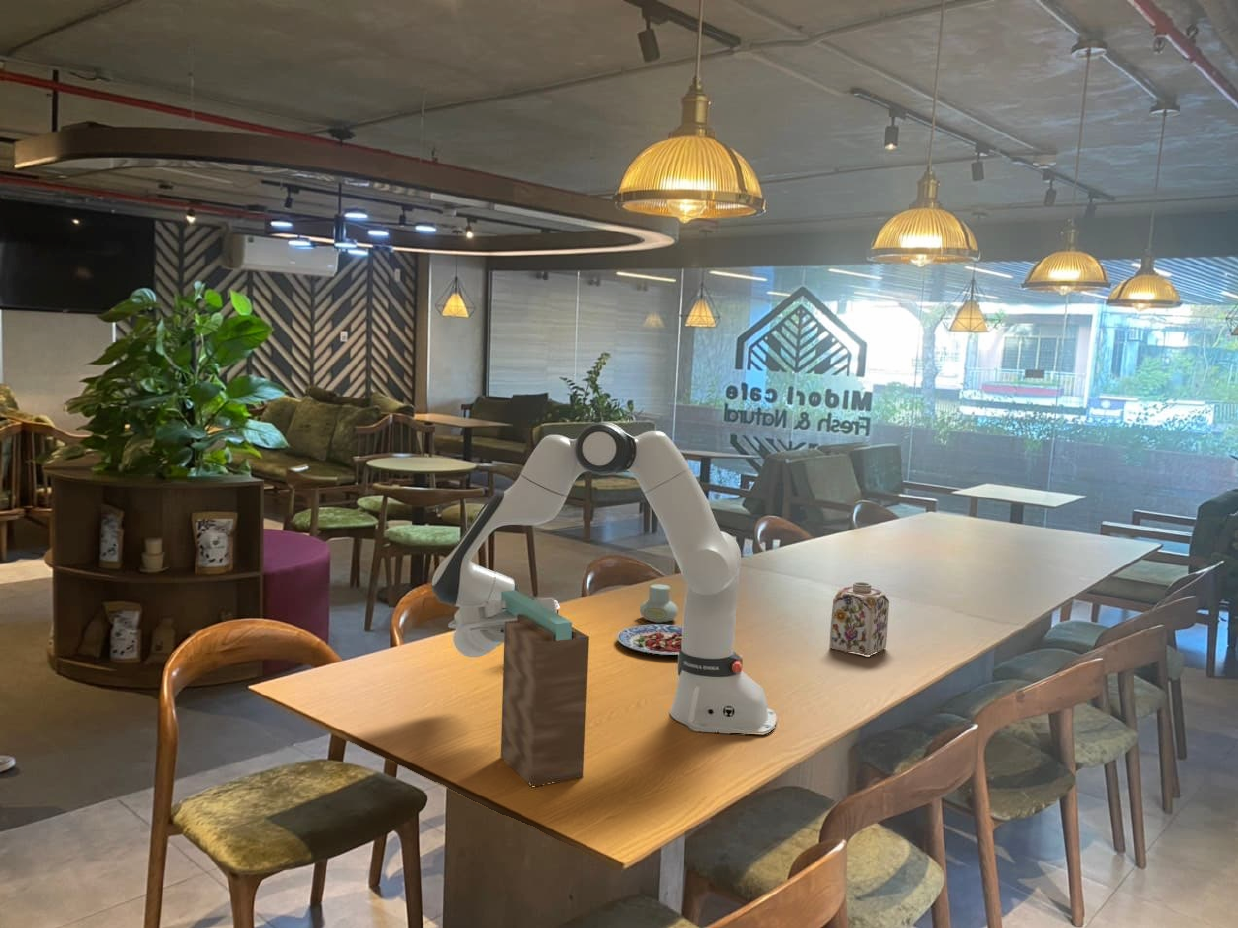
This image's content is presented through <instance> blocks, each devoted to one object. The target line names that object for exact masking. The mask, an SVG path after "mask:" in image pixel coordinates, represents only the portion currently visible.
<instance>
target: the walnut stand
mask: <svg viewBox="0 0 1238 928" xmlns="http://www.w3.org/2000/svg"><path fill="white" fill-rule="evenodd" d="M589 640H590V636H589V635H587V634H585V633H584V632H582V631H579V630H578V629H576V628H574V627H573V626H572V637H571V639H567V640H559V641H555V640H554V634H553V633H551V632H549V631H548V630H546V629H545V628H543V627H541V626H540V625H538V624H536V623H535V622H533V621H531V620H530V619H528V618H526V617H525V616H523V615H521V614H517V621H508V622H505V631H504V643H503V665H502V667H503V668H502V669H503V671H502V672H503V673H502V702H501V730H500V731H501V737H500V741H501V742H500V758H501V757H502V758H503V759H504V760H505V761H506V762H507V763H508V764H509V765H510V766H511V767H512V768H513V769H514V772H515V773H516V774H517V775H519V776H520V777H521V778H522V779H523V780H524V781H525V782H526V783H527V782H528V783H530V784H531V785H532V786H538V785H543V784H548V783H552V782H558V783H562V782H561V781H563V782H567V781H571V780H576V779H580V778H584V768H585V767H584V766H585V763H584V762H585V746H586V745H585V741H586V740H585V739H586V719H587V716H586V715H587V694H588V691H587V690H588V671H589V669H588V668H589V646H590V645H589V642H590V641H589ZM502 758H501V759H502ZM503 759H502V760H503ZM504 760H503V761H504ZM505 761H504V762H505ZM506 762H505V763H506ZM507 763H506V764H507ZM508 764H507V765H508ZM509 765H508V766H509ZM510 766H509V767H510ZM511 767H510V768H511ZM512 768H511V769H512ZM513 769H512V770H513ZM528 783H527V784H528ZM548 785H549V784H548Z"/></svg>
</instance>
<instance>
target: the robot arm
mask: <svg viewBox="0 0 1238 928" xmlns="http://www.w3.org/2000/svg"><path fill="white" fill-rule="evenodd" d="M622 471H627V472H629V474H631V475H632V476H633V477H634V478H635V480H636V482H637V483H638V485H639V487H640V489H641V490H642V492H643V493H644V496H645V498H646V499H647V501H648V503H649V505H650V507H651V508H652V511H653V512H654V514H655V516H656V518H657V519H658V521H659V523H660V525H661V527H662V529H663V532H664V534H665V537H666V540H667V542H668V544H669V547H670V549H671V552H672V554H673V557H674V559H675V561H676V563H677V566H678V567H679V570H680V573H681V575H682V578H683V581H684V583H685V585H686V591H685V599H684V606H683V610H682V611H683V612H682V626H681V627H682V643H681V649H680V650H679V654H678V656H677V675H678V679H677V685H676V686H677V687H676V691H675V695H674V699H673V702H672V706H671V708H670V711H669V714H670V716H671V717H672V718H673V719H674V720H675V721H677V722H679V723H680V724H683V725H686V726H687V727H688V728H689V730H692V731H694V732H699V731H701V732H702V733H706V732H707V733H715V732H716V733H717V732H719V733H720V734H730V733H767V732H769V731H771V730H772V729H773V728H774V727H775V725H776V722H777V721H778V718H777V714H776V713H775V711H774V710H773V709H771V708H768V702H767V697H766V694H765V691H764V689H763V688H762V686H760V685H759V684H758V683H757V682H755V681H754V680H753V679H752V678H751V677H750V676H749V675H747V673H745V671H743V667H744V666H743V663H744V662H743V661H744V660H743V653H742V654H740V655H739V654H738V653H737V652H735V651H734V648H735V632H736V629H735V628H736V618H737V617H736V616H737V615H736V614H737V607H738V606H737V605H738V597H739V587H740V586H739V585H740V577H741V574H740V573H741V565H742V551H741V547H740V545H739V544H738V543H739V542H738V541H737V540H736V539H735V538H734V537H733V536H732V535H731V534H729V533H728V532H726V531H723V530H721V529H720V527H719V525H718V522H717V521H716V518H715V516H714V513H713V511H712V508H711V505H710V502H709V500H708V497H707V496H706V494H705V492H704V491H703V489H702V487H701V485H700V483H699V482H698V480H697V477H696V476H695V474H694V472H693V471H692V469H691V468H690V466H689V463H688V462H687V460H686V459H685V457H684V456H683V454H682V453H681V451H680V450H679V449H678V447H677V446H676V445H675V443H674V442H673V441H672V440H671V438H670V437H669V436H668V435H667V434H666V433H665V432H663V431H660V430H648V431H645V432H642V433H641V434H639V435H635V436H633V435H630V434H629V433H627V431H626V432H625V431H624V430H623V428H622V427H620V426H619V425H617V424H615V423H614V422H613V423H612V422H607V421H598V422H593V423H590V424H588V425H587V426H586V427H584V428H583V429H582V430H581V431H580V432H579V434H578V436H577V438H574V439H572V438H569V437H567V436H564V435H561V434H548V435H546V436H544V437H543V438H542V439H541V440H540V441H539V443H538V444H537V445H536V447H535V448H534V449H533V451H532V452H531V454H530V456H529V457H528V459H527V460H526V463H525V464H524V466H523V468H522V470H521V472H520V474H519V476H518V477H517V479H516V480H515V482H514V483H513V484H512V485H511V486H510V487H508V489H506V490H504V491H497V492H495V493H494V494H493V495H492V496H491V497H490V498H489V499H488V500H487V501H486V503H485V504H484V505H483V506H482V508H481V509H480V510H479V512H478V513H477V515H475V517H474V519H473V520H472V521H471V523H470V524H469V525H468V526H467V529H466V530H465V531H464V532H463V534H462V536H461V537H459V540H458V541H457V543H456V544H455V546H454V547H453V549H452V550H451V551H450V552H449V553H448V554H447V555H446V557H445V558H444V559H443V561H442V562H441V563H440V564H439V565H438V567H437V568H436V570H435V572H434V573H433V575H432V576H433V577H432V580H431V582H430V583H431V584H430V586H431V589H432V592H433V594H434V595H435V597H436V599H437V600H438V602H439V603H441V604H446V605H449V606H453V607H458V609H457V611H456V612H455V613H454V615H453V616H454V620H452V621H450V622H448V626H447V627H448V628H449V629H454V630H455V631H453V637H452V641H453V644H454V647H455V649H456V650H457V651H458V652H459V653H460V654H461V655H463V656H464V657H468V658H480V657H483V656H485V655H488V654H489V653H491V652H492V651H494V650H495V649H496V648H497V647H499V646H501V645H502V644H503V645H504V631H505V622H508V621H517V616H515V615H513V614H512V613H510V612H508V611H507V610H506V605H505V604H506V602H505V601H501V592H503V591H514V590H516V591H517V592H519V593H520V590H519V586H518V584H517V582H516V580H515V579H514V578H512V577H509V576H507V575H505V574H502V573H500V572H497V571H495V570H491V569H489V568H487V567H484V566H482V565H478V564H477V563H475V562H472V559H473V558H474V556H475V555H476V553H477V552H478V551H479V549H480V548H481V546H482V545H483V543H484V542H485V541H486V540H487V538H488V537H489V536H490V534H491V533H493V531H494V530H496V529H497V528H500V527H503V526H512V525H513V526H515V525H516V526H538V525H541V524H545V523H548V522H550V521H552V520H553V519H555V518H556V517H557V516H558V514H559V512H560V511H561V509H563V506H564V504H565V502H566V500H567V498H568V497H569V496H568V495H569V494H570V491H571V490H572V487H573V485H574V483H575V482H576V480H577V478H579V476H580V475H581V474H582V473H585V472H590V473H591V474H596V475H602V476H609V475H613V474H615V473H617V472H622ZM531 599H532V600H533V601H535V602H537V603H539V604H541V605H542V606H544V607H546V608H548V609H549V610H551V611H553V612H555V613H557V608H556V603H555V600H556V599H554V598H553V597H544V598H543V597H542V598H541V597H532V598H531ZM777 723H778V722H777ZM776 726H777V725H776ZM775 728H776V727H775ZM701 732H700V733H701ZM716 733H715V734H716ZM719 733H717V734H719Z"/></svg>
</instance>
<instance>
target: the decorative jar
mask: <svg viewBox="0 0 1238 928" xmlns="http://www.w3.org/2000/svg"><path fill="white" fill-rule="evenodd" d="M889 608H890V601H889V598H887V596H886V595H885V594H884V593H883V592H882V591H880V590H879V589H875V588H872V584H871V583H869V582H862V581H859V582H853V583H852V586H845V587H842V588H840V589H839V590H838V592H837V594H835V596H834V598H833V600H832V608H831V619H830V628H829V629H830V630H829V645H828V646H829V647H828V648H829V649H830V648H832V649H831V650H833V649H836V650H835V651H837V650H841V651H846V652H855V653H860V654H864V655H871V654H873V653H875V652H879V651H880V652H882V651H884V650H885V649H886V648H887V647H886V646H887V641H888V640H887V639H888V624H889V610H890V609H889ZM884 648H885V649H884ZM883 649H884V650H883ZM881 650H882V651H881ZM841 651H840V652H841ZM846 652H845V653H846ZM880 652H879V653H880Z"/></svg>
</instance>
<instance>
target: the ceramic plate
mask: <svg viewBox="0 0 1238 928" xmlns="http://www.w3.org/2000/svg"><path fill="white" fill-rule="evenodd" d="M616 637H617V640H618V642H619V643H620V644H622V645H623V646H624V647H626V648H629V649H632V650H635V651H639V652H641V653H642V652H643V653H646V652H647V653H646V654H650V653H652V654H651V655H655V654H659V655H658V656H663V655H678V654H679V650H680V649H681V643H682V626H680V625H675V624H673V625H671V624H645V625H644V624H643V625H642V624H641V625H636V626H632V627H628V628H625V629H623V630H621V631H619V632H618V634H617V635H616Z"/></svg>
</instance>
